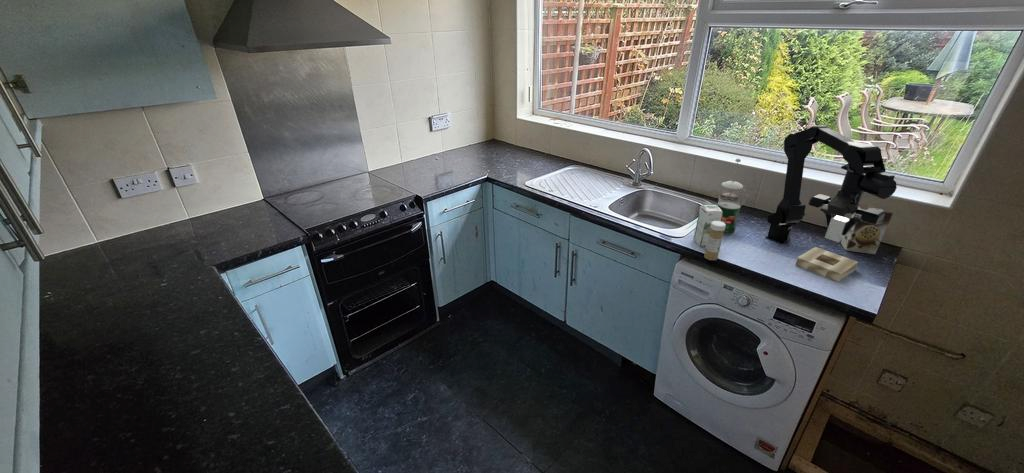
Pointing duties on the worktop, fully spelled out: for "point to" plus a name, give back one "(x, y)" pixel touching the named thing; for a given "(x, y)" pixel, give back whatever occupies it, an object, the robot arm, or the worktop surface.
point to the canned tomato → (729, 215)
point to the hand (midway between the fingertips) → (836, 232)
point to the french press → (731, 185)
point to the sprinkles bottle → (714, 240)
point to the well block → (826, 264)
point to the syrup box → (706, 222)
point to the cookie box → (866, 233)
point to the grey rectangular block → (836, 228)
